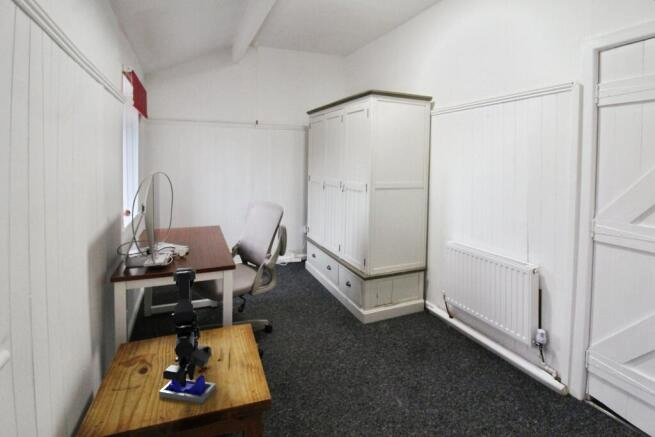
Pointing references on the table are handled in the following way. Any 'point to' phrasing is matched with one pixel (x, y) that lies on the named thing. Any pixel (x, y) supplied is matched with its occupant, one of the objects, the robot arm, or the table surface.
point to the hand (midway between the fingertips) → (187, 383)
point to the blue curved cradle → (189, 386)
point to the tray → (187, 396)
